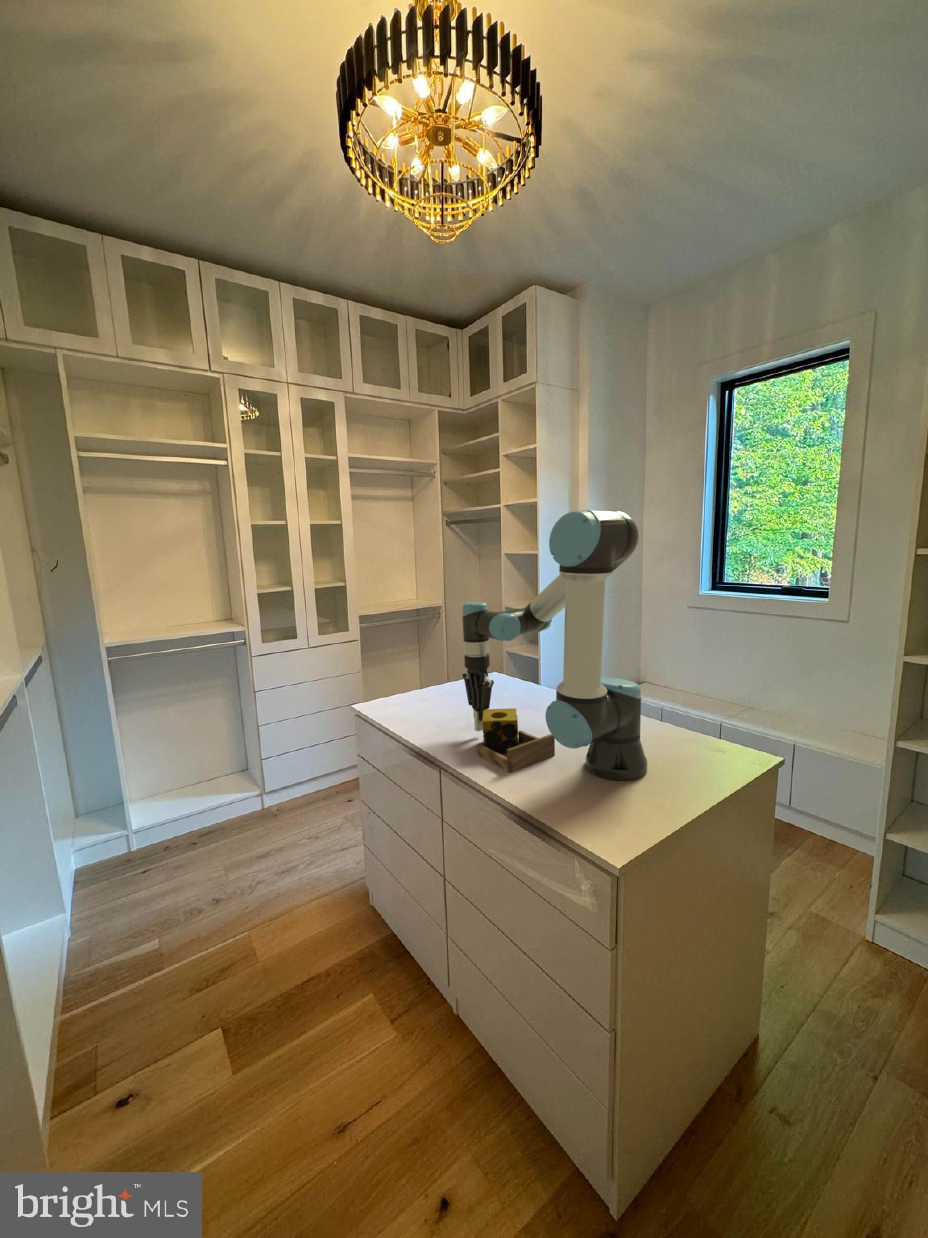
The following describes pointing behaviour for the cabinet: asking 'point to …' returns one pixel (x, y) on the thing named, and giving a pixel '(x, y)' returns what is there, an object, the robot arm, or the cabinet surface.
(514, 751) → the dock
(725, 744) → the cabinet surface
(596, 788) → the cabinet surface
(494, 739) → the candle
